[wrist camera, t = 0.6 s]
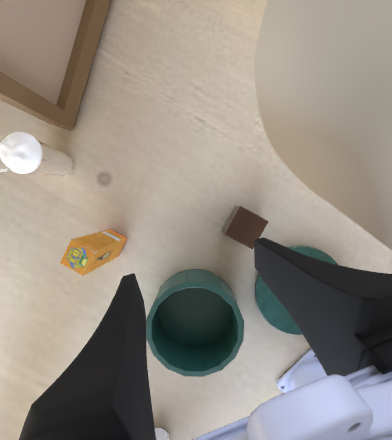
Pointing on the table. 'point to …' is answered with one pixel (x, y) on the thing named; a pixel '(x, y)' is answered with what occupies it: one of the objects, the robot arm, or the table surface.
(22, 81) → the photo frame
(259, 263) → the robot arm
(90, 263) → the supplement box
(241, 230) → the block
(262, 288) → the lid
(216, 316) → the tin
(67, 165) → the milkshake
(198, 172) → the table surface
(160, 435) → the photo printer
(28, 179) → the table surface
